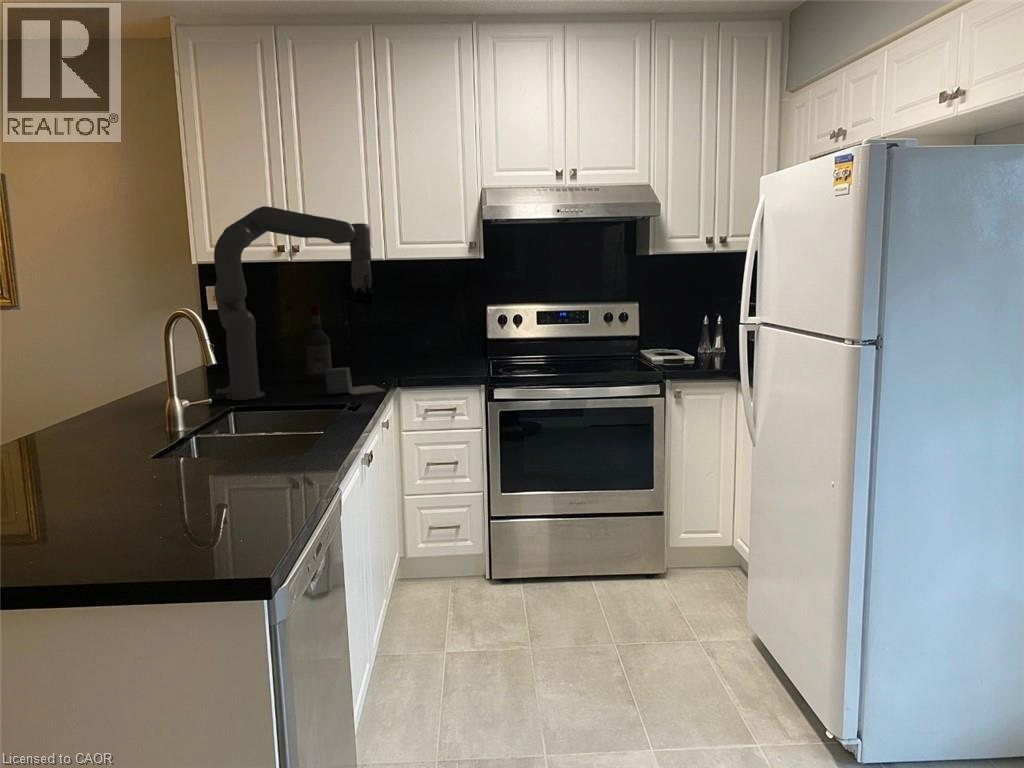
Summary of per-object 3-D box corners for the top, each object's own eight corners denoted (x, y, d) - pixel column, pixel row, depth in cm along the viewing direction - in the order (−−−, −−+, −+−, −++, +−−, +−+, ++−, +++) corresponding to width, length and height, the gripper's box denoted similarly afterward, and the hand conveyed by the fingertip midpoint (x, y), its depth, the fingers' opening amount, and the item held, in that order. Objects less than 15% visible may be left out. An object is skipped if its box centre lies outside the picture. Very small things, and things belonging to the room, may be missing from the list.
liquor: (333, 380, 279) (328, 305, 274) (309, 382, 275) (304, 306, 270) (330, 377, 287) (325, 304, 282) (307, 379, 284) (302, 305, 279)
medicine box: (353, 390, 251) (349, 366, 249) (349, 393, 247) (345, 369, 245) (332, 391, 252) (328, 368, 250) (327, 394, 248) (324, 370, 246)
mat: (353, 395, 245) (352, 394, 245) (340, 389, 256) (340, 388, 256) (386, 391, 251) (386, 390, 251) (372, 386, 263) (372, 385, 263)
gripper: (343, 257, 265) (346, 302, 268) (358, 256, 251) (361, 304, 253) (362, 257, 269) (365, 301, 272) (378, 256, 254) (381, 303, 257)
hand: (363, 303), depth 263 cm, fingers open, 9 cm apart
